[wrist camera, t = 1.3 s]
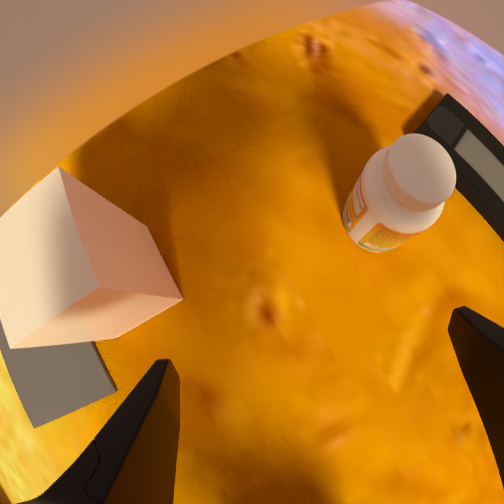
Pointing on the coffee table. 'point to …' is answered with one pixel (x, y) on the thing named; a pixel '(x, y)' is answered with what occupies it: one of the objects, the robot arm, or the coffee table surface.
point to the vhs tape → (471, 158)
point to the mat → (56, 378)
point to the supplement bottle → (399, 193)
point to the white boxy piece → (76, 267)
